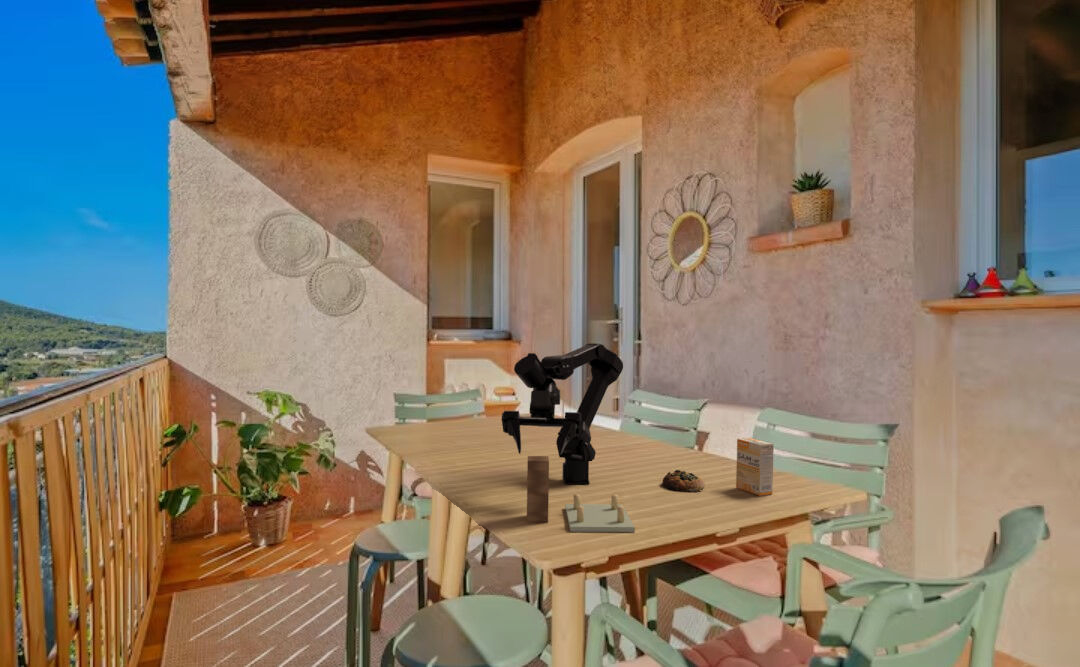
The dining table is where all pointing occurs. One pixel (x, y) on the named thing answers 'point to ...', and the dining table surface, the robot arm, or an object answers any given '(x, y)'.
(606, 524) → the pin plate
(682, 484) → the bread roll
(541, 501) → the walnut block
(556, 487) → the dining table surface
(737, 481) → the supplement box
